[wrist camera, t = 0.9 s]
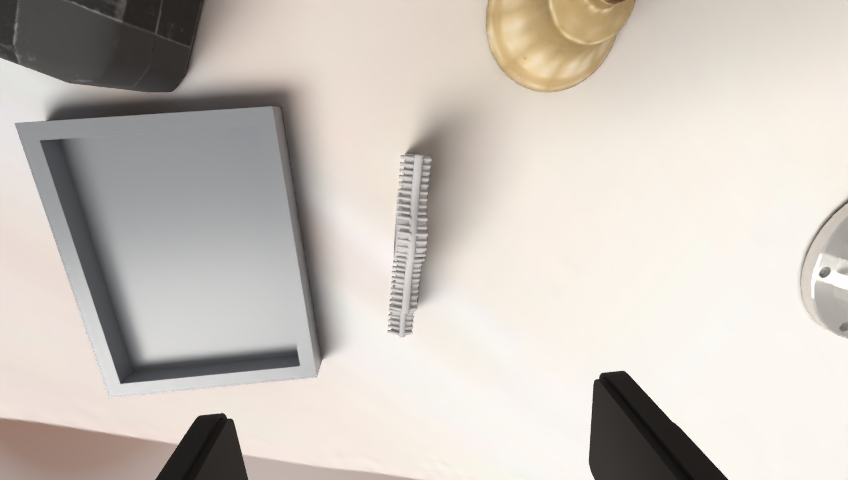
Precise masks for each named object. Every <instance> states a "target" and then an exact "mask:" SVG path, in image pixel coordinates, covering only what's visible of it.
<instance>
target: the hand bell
mask: <svg viewBox="0 0 848 480" xmlns="http://www.w3.org/2000/svg"><path fill="white" fill-rule="evenodd" d="M634 4H635V0H489V1H488V7H487V16H486V31H487V37H488V42H489V45H490V48H491V51H492V53H493V56H494V58H495V60H496V61H497V63H498V65H499V66H500V67H501V69H502V70H503V71H504V72H505V73H506V75H507V76H508V77H510V78H511V79H512V80H514V81H515V82H516V83H518V84H519V85H521V86H523V87H526V88H528V89H531V90H534V91H541V92H556V91H561V90H565V89H568V88H571V87H573V86H575V85H577V84H579V83H581V82H582V81H584V80H585V79H587V78H588V77H589V76H590V75H591V74H592V73H594V72H595V71H596V70H597V68H598V67H599V66H600V65H601V64H602V62H603V61H604V59H605V58H606V56H607V55H608V53H609V51H610V49H611V47H612V45H613V42H614V40H615V37H616V34H617V32H618V31H619V30H620V29H621V28H622V27H623V26H624V25H625V23H626V22H627V20H628V18H629V17H630V15H631V12H632V10H633V8H634Z"/></svg>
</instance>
